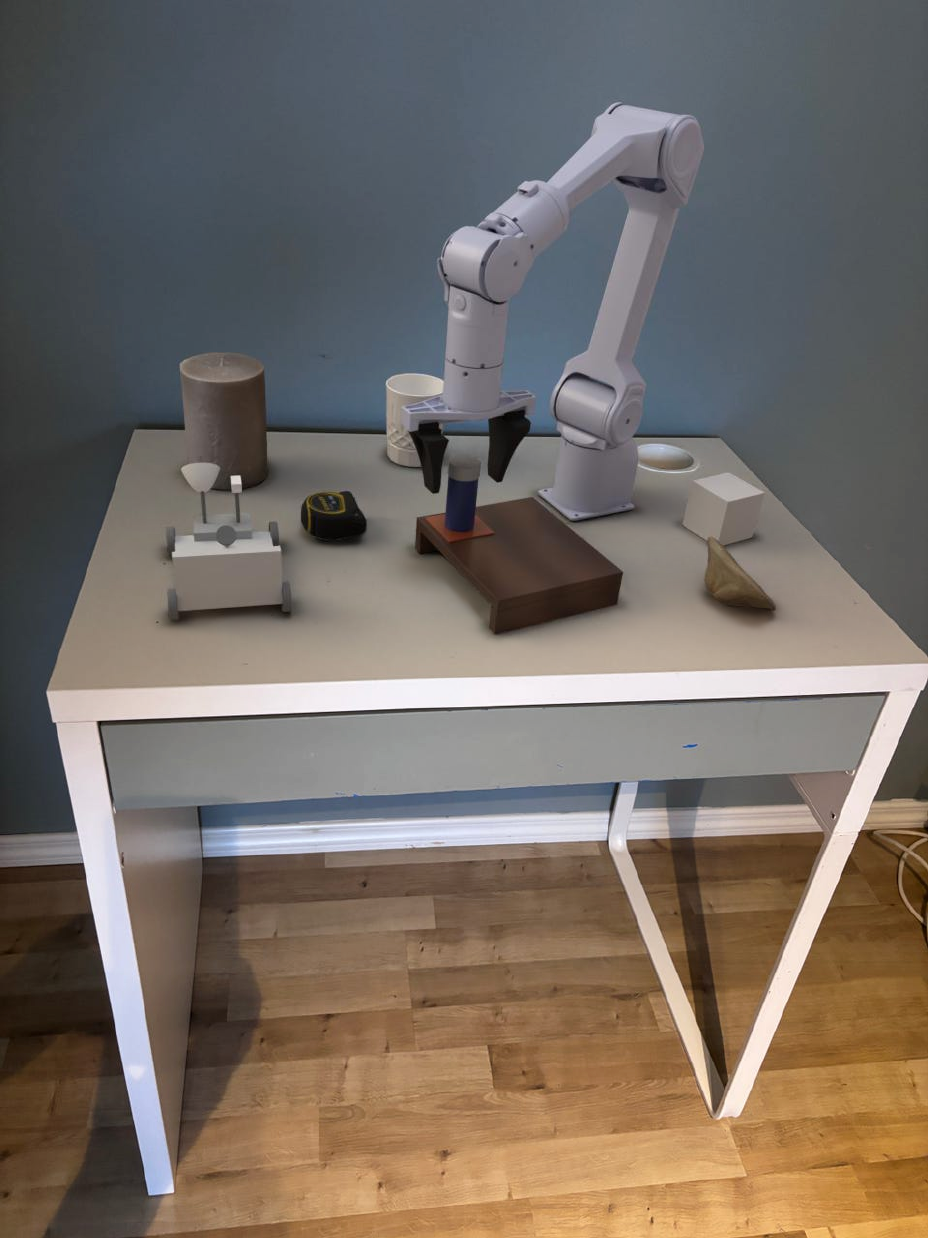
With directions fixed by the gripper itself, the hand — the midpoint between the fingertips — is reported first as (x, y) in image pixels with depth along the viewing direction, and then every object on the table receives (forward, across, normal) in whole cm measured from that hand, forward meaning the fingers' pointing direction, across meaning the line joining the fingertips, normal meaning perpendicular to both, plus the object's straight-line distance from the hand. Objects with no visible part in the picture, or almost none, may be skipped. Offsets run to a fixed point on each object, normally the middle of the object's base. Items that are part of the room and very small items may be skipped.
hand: (463, 483), depth 104 cm
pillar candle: (+9, +17, -28) cm, 34 cm away
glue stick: (+5, 0, 0) cm, 5 cm away
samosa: (+9, -24, +19) cm, 32 cm away
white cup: (+9, -7, -25) cm, 28 cm away
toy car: (+9, +24, -6) cm, 27 cm away
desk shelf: (+9, -4, +6) cm, 11 cm away
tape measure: (+9, +10, -10) cm, 17 cm away
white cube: (+9, -33, +6) cm, 35 cm away
